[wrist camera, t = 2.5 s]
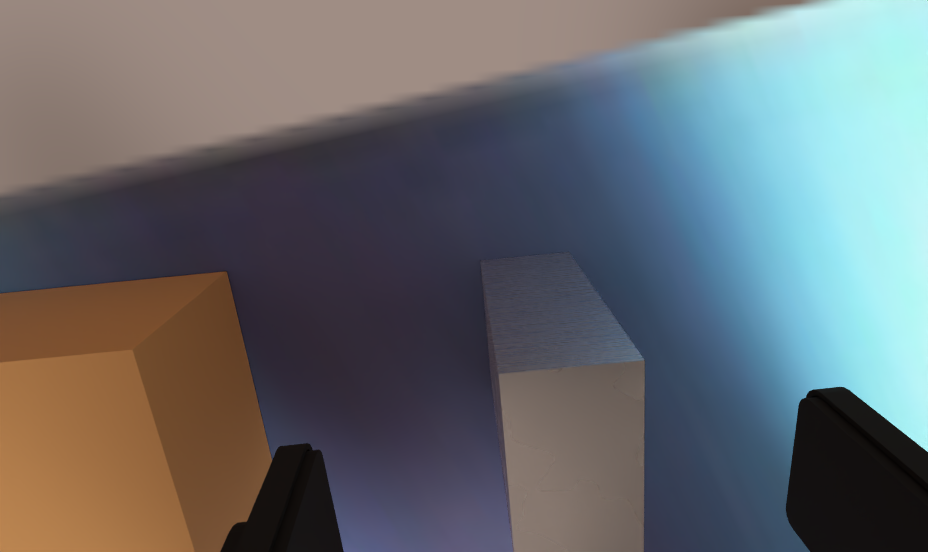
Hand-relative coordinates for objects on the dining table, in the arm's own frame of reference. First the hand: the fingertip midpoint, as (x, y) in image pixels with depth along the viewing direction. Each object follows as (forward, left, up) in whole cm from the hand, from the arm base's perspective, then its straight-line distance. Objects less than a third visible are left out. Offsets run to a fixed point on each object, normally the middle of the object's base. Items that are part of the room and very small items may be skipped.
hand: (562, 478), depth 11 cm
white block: (0, +1, -9) cm, 9 cm away
